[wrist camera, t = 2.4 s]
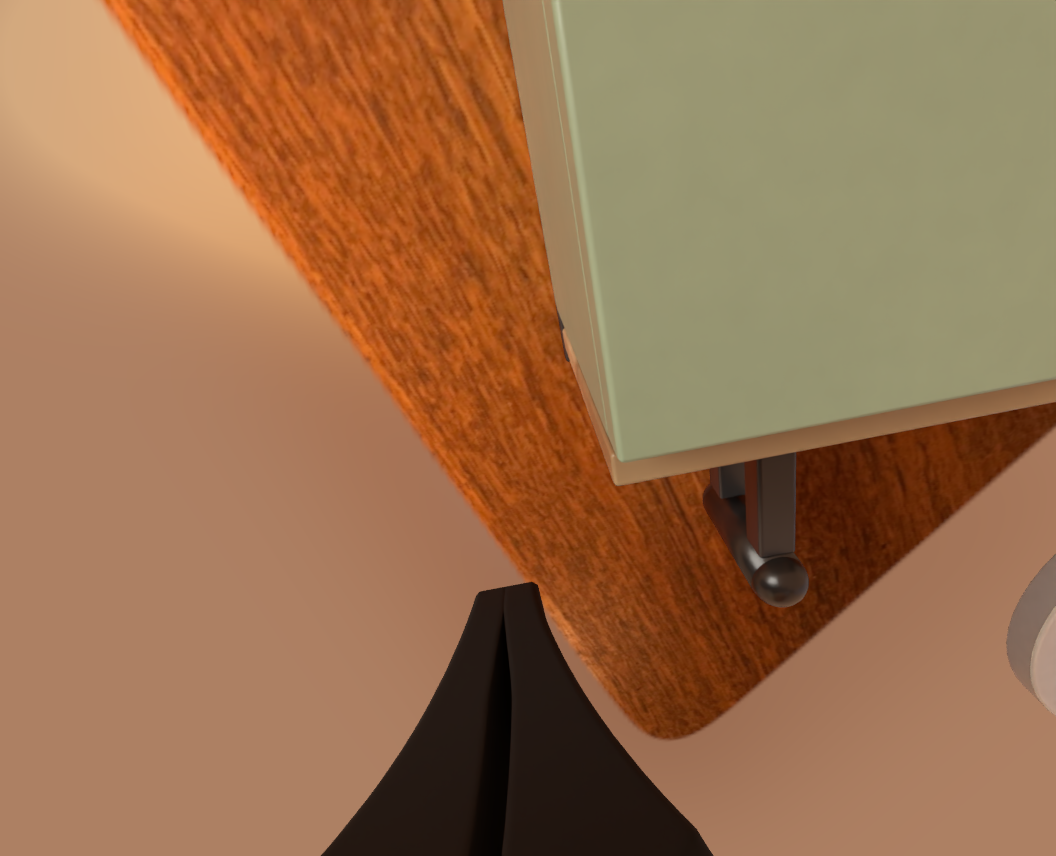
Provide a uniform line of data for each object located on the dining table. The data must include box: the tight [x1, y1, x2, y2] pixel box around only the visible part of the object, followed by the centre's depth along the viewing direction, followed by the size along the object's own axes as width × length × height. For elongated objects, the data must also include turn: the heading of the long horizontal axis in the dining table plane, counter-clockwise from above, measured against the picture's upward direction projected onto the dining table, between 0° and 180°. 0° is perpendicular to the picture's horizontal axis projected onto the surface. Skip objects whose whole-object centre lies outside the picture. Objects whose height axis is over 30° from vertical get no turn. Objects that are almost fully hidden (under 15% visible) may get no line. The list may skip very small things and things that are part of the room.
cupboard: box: [502, 0, 1056, 463], centre depth 9 cm, size 11×14×9 cm
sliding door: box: [562, 328, 1056, 607], centre depth 13 cm, size 6×7×7 cm
